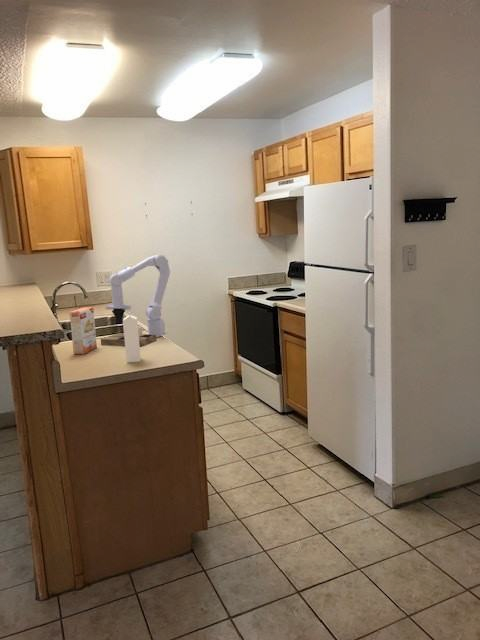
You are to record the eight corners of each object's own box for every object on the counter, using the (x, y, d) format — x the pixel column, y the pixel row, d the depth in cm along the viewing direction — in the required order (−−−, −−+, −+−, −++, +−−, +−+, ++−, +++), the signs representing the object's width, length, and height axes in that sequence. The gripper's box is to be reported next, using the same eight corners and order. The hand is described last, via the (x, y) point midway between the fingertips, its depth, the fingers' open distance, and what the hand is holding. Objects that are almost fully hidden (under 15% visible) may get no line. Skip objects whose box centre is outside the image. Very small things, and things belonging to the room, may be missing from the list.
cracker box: (84, 354, 255) (80, 311, 251) (73, 354, 256) (68, 311, 253) (98, 347, 269) (93, 306, 265) (87, 347, 270) (82, 307, 266)
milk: (140, 358, 241) (136, 310, 238) (140, 361, 236) (136, 312, 232) (127, 359, 241) (122, 311, 237) (126, 362, 235) (122, 313, 231)
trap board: (118, 338, 288) (118, 333, 288) (156, 340, 278) (155, 334, 278) (101, 344, 275) (100, 339, 274) (140, 346, 265) (139, 340, 264)
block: (135, 334, 281) (134, 326, 280) (142, 334, 279) (141, 326, 278) (130, 336, 277) (129, 327, 276) (137, 336, 275) (136, 328, 274)
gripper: (101, 298, 278) (103, 323, 281) (124, 298, 272) (126, 324, 275) (109, 296, 285) (111, 321, 287) (132, 296, 279) (134, 322, 281)
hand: (119, 322), depth 281 cm, fingers closed
